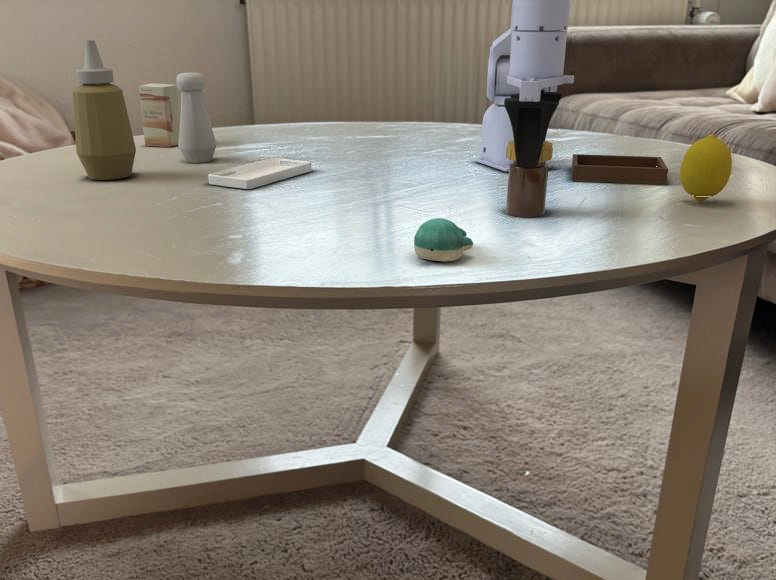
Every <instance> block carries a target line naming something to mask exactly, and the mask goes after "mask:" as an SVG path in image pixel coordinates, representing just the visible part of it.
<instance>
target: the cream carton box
mask: <svg viewBox="0 0 776 580" xmlns="http://www.w3.org/2000/svg"><path fill="white" fill-rule="evenodd" d="M138 91H139V101H140V109H141V119H142V129H143V130H142V131H143V135H144V136H143V138H144V145H145V146H147V147H148V146H149V147H159V148H161V147H162V148H171V147H174V146H178V143H179V130H180V112H179V111H180V110H179V101H178V100H179V99H178V88H177V84H170V83H152V82H151V83H146V84H140V85H138Z"/></svg>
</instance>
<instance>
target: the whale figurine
mask: <svg viewBox="0 0 776 580" xmlns="http://www.w3.org/2000/svg"><path fill="white" fill-rule="evenodd" d="M473 246H474V242H473V239H472V238H471V237H469V236H467V231H465V230H464V229H463V228H461V227H459V226H458V225H457V224H456V223H454V222H453V221H451V220H449V219H446V218H443V217H435V218H431V219H428V220H426V221H425V222H423V223H422V224H421V225H420V226H419V227H418V229H417V230H416V233H415V235H414V237H413V249H414V252H415V254H416V256H417V257H419V258H421V259H423V260H426V261H427V260H428V261H433V262H435V261H436V262H453V261H457V260H459V259H461V257H462V255H463V254H464V252H465V251H468V250H471V249H472V248H473Z"/></svg>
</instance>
